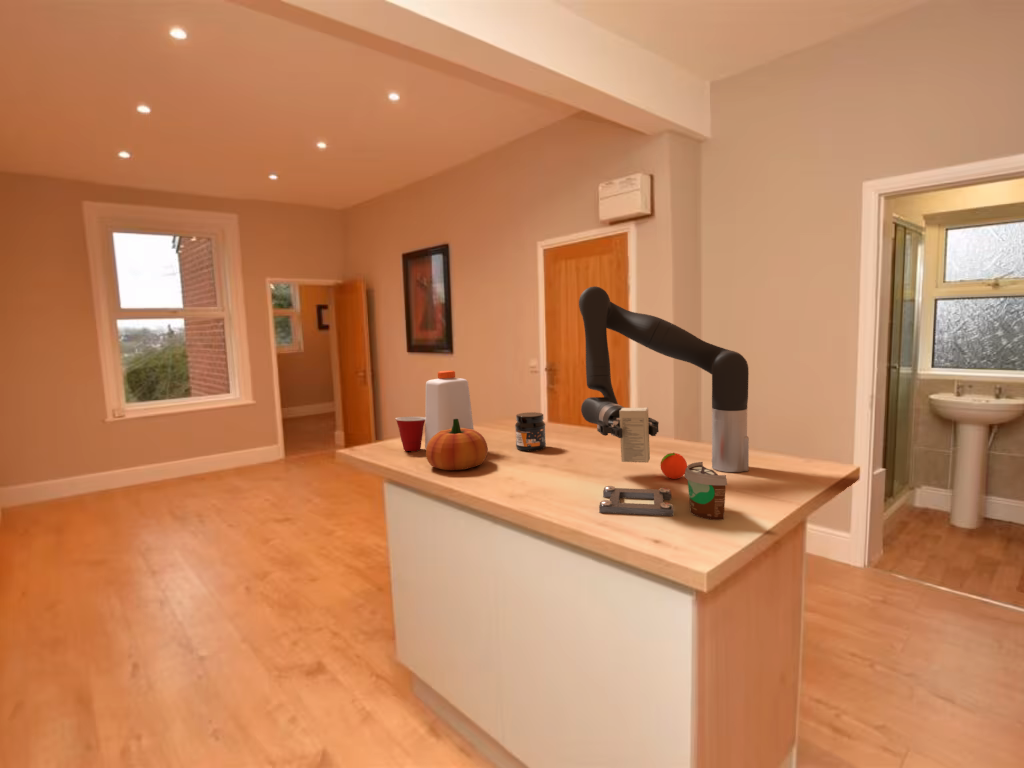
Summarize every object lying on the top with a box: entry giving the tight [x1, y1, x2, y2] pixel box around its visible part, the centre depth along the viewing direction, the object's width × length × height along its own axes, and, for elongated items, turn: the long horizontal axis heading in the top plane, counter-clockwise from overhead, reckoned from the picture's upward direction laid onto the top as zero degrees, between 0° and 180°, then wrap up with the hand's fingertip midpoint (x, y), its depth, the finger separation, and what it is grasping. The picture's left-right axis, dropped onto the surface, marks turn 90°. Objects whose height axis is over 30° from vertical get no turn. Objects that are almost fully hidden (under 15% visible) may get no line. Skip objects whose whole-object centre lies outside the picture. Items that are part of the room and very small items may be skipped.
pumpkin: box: [425, 419, 489, 471], centre depth 166 cm, size 19×19×15 cm
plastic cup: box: [395, 416, 425, 452], centre depth 191 cm, size 11×11×12 cm
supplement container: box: [514, 411, 547, 452], centre depth 186 cm, size 10×10×12 cm
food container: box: [683, 461, 728, 521], centre depth 118 cm, size 12×6×10 cm, turn 5°
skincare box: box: [619, 407, 651, 463], centre depth 124 cm, size 6×4×12 cm
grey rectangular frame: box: [598, 485, 674, 517], centre depth 125 cm, size 16×14×2 cm
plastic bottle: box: [424, 370, 475, 450], centre depth 187 cm, size 15×15×28 cm
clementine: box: [659, 452, 688, 480], centre depth 144 cm, size 8×7×7 cm
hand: (637, 432), depth 122 cm, fingers closed on skincare box, 7 cm apart
